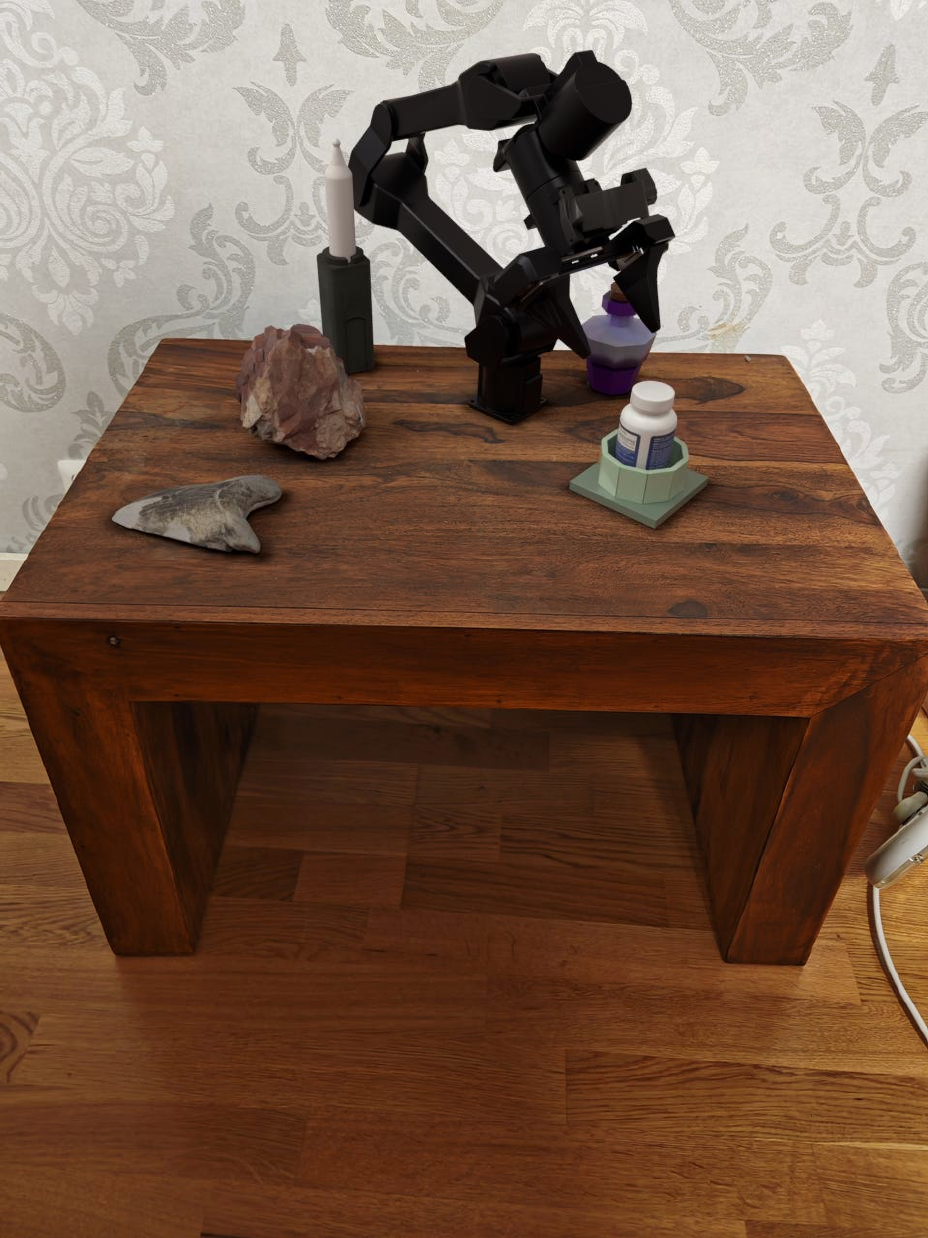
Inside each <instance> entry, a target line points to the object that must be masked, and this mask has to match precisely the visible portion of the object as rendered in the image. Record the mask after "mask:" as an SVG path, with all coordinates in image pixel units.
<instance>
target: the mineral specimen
mask: <svg viewBox="0 0 928 1238" xmlns="http://www.w3.org/2000/svg"><path fill="white" fill-rule="evenodd" d="M333 347H334V346H333V345H332V343H331V342H330V340H329V339H328V338H326V337H324V336H323V333H322V331H320V330H319V329H318V328H317V327H315V326H314V325H310V324H304V323H296V324H293V325H292V326H291V327H289V328H288V329H286V330H284V329H283V328H281V327H280V328H277V327H275V326H273V325H269V326H266V327H264V331H263V332H262V333H259V334H257V335H254V337H253V339H252V342H251V346H250V347H249V349H248V350H246V352H245V353H244V355H243V356H242V362H241V365H240V372H238V373H237V374H236V375H235V376H236V377H235V400H236V401H237V402H238V403H239V404H240V417H239V418H240V421H242V427H243V428H245V429H246V430H247V431H248V433H249V435H250V436H252V438H257V439H258V440H260V441H263V442H265V443H268V444H276V445H285V446H287V447H288V448H289V449H291V450H293V451H295V452H297V453H298V452H304V453H305V454H307V455H309V456H311V455H312V456H314V457H315V458H317V459H319V460H322V461H323V460H326V459H327V458H332V459H333V458H336V457H337V456H338V455H339V452H341V451H343V450H344V449H345V447H346V446H347V443H349V442H350V441H352V440H355V439H356V438H357V437H359V435H360V434H361V430H363V429H364V428H365V427H366V425H367V412H366V410H365V407H364V403H365V397H364V395H363V392H364V389H363V384H362V383H361V382H360V381H358V380H355V379H350V378H349V375H347V374H346V373H345V368H344V363H343V360H342V359H341V358H339V357H336V354H335V351H334V348H333Z"/></svg>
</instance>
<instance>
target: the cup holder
mask: <svg viewBox="0 0 928 1238" xmlns="http://www.w3.org/2000/svg"><path fill="white" fill-rule="evenodd" d="M618 430H619V428H616V429H615V430H613V431H611V432H610V433H608V434H607V435H606V436H605V437H603V438H601V441H600V447H599V454H598V455H599V456H598V460H597V461H596V462H595V463H593V464H592V465H590V467H588V468H586V469H585V470H584V471H582V472H581V473H580V474H578V475H577V476H576V477H574V478H572V479H571V480H570V481H569V487H568V490H570V491H572V492H574V493H576V494H578V495H580V496H583V497H584V498H587V499H588V500H591V501H593V502H596V503H597V504H600V505H602V506H604V507H606V508H609V509H610V510H613V511H615V512H617V513H620V514H621V515H623V516H625V517H627V518H630V519H632V520H634V521H636V522H638V523H641V524H642V525H644V526H647V527H650V528H651V529H654V530H655V529H657V528H658V527H659V526H660V525H661V524H663V523H664V522H665V521H666V520H668V518H670V517H671V516H672V515H674V514H675V513H676V512H677V511H678V510H679V509H681V508H682V507H683V506H684V505H685V504H687V503H688V502H689V501H690V500H691V499H692V498H694V497H695V496H696V495H698V493H700V492H701V491H702V490H703V489H705V488H706V487H707V486H708V482H709V477H708V476H707V475H704V474H702V473H699V472H696V471H694V470H692V469H690V468H688V467H689V462H690V454H689V449H688V445H687V444H686V443H685V442H684V441H683V440H681V439H680V438H678V437H677V436H674V441H673V446H672V452H671V457H670V462H669V467H668V468H664V469H656V470H644V469H640V468H635V467H631V466H627V465H623V464H622V463H621V462H619V461H618V460H617V459H615V451H616V444H617V437H618Z"/></svg>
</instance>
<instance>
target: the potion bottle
mask: <svg viewBox="0 0 928 1238" xmlns="http://www.w3.org/2000/svg"><path fill="white" fill-rule="evenodd" d="M601 308H602V309H603V311H604V312H605V314H597V315H592V316H590V317H589V318H588V319H587V320H586V321H584V322H583V323H581V325H582V327H583V330H584V332H585V334H586V337H587V339H588V343H589V346H590V349H591V352H592V354H591V356H589V357H588V358H586V359H585V365H586V366H585V367H586V374H587V375H586V376H587V382H586V385H587V386H588V387H589V389H590V390H591V392H592V393H596V394H599V395H602V396H605V397H609V398H613V397H623V396H628V395H629V394H630V393H632V388H633V386H634V385H635V383H636V381H637V378H638V375H639V373H640V371H641V369H642V366H643V363H645V361H647V359H648V357H649V354H650V352H651V350H652V347H653V345H654V343H655V340H656V337H657V335H658V332H655V333H651V332H650V331H649V330H648V329H647V327H646V326H645V325H644V324H643V322H642V321H641V320H640V318H639V317H638V318H637V317H635V316H637V314H636V312H635V311H634V309H633V308H632V306H631V305H630V303H629V302H628V300H627V299H626V297H625V296H624V294H623V293H622V291H621V290H620V288H619V287H618V285H617V284H616V282H615V281H613V282H611V284H610V289H609V290H608V291H607V292H605V293H604V294H603V295H602V300H601Z"/></svg>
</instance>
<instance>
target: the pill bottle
mask: <svg viewBox="0 0 928 1238" xmlns="http://www.w3.org/2000/svg"><path fill="white" fill-rule="evenodd" d="M630 393H631V394H630V399H629V400H630V401H629V403H628V404H626V406H624V408H623V409H622V410H621V412H620V417H619V422H618V423H619V424H618V429H619V430H618V437H617V444H616V451H615V459H617V460H618V461H619V462H621V463H622V464H623V465H627V466H631V467H635V468H640V469H644V470H656V469H664V468H668V467H669V462H670V457H671V452H672V446H673V441H674V436H675V435H676V431H677V426H678V416H677V413H676V412H675V410H674V409H673V406H674V402H675V395H676V392H675V389H674V388H673V387H672V386H671V385H669V384H667V383H664V382H661V381H657V380H645V381H644V380H643V381H640V382H637V383H636V384H635V383H634V386H633V388H632V391H631V392H630ZM675 437H676V436H675Z"/></svg>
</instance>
